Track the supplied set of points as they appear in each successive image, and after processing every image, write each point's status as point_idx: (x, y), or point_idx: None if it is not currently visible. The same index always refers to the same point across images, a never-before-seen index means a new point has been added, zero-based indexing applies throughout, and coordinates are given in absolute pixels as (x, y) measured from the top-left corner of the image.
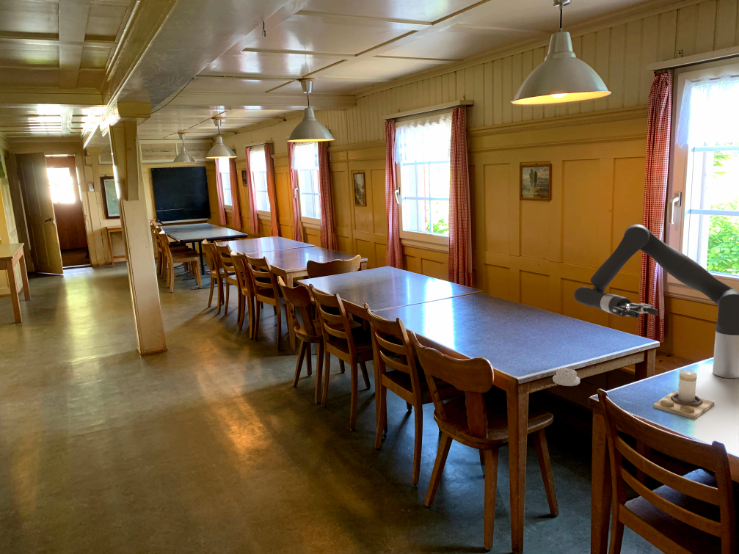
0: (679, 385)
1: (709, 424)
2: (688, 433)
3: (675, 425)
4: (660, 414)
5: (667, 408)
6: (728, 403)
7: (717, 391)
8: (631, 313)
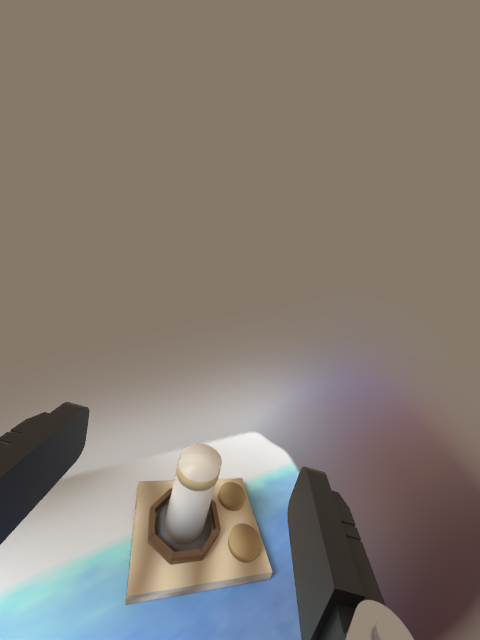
0: (209, 501)
1: (235, 462)
2: (291, 470)
3: (291, 494)
4: (283, 539)
5: (259, 532)
6: (105, 473)
7: None
8: (358, 564)
